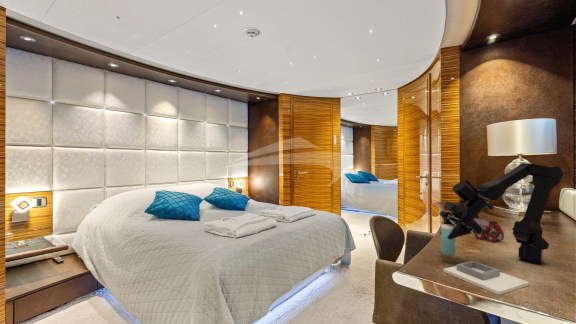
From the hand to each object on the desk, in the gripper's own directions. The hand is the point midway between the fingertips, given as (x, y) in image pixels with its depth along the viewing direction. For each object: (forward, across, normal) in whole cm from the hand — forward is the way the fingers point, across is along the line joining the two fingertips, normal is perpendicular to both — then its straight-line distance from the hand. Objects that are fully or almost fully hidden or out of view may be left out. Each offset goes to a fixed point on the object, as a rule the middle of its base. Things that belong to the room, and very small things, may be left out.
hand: (444, 236), depth 105 cm
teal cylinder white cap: (+4, 0, +6) cm, 7 cm away
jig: (+4, +15, +10) cm, 18 cm away
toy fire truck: (-21, -28, +36) cm, 50 cm away
